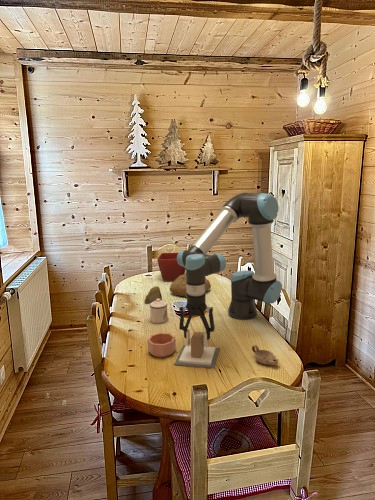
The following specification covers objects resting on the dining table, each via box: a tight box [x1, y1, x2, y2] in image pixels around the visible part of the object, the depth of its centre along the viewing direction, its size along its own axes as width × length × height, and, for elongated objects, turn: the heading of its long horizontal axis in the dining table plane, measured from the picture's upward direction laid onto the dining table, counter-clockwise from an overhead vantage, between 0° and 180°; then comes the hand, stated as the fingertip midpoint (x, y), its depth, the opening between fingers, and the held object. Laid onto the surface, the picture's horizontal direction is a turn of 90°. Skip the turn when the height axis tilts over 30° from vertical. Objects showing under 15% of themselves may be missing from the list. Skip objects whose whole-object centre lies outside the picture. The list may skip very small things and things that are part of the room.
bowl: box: [147, 332, 177, 358], centre depth 159 cm, size 11×11×6 cm
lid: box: [179, 331, 216, 365], centre depth 153 cm, size 13×13×9 cm
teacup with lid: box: [149, 299, 168, 324], centre depth 192 cm, size 12×9×12 cm
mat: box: [174, 344, 220, 369], centre depth 154 cm, size 16×16×1 cm
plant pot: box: [157, 252, 186, 282], centre depth 259 cm, size 19×19×17 cm
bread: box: [169, 273, 212, 298], centre depth 232 cm, size 24×21×12 cm
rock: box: [144, 285, 163, 304], centre depth 218 cm, size 11×9×10 cm
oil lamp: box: [251, 344, 279, 366], centre depth 149 cm, size 13×8×5 cm, turn 32°
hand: (197, 345), depth 153 cm, fingers open, 7 cm apart
